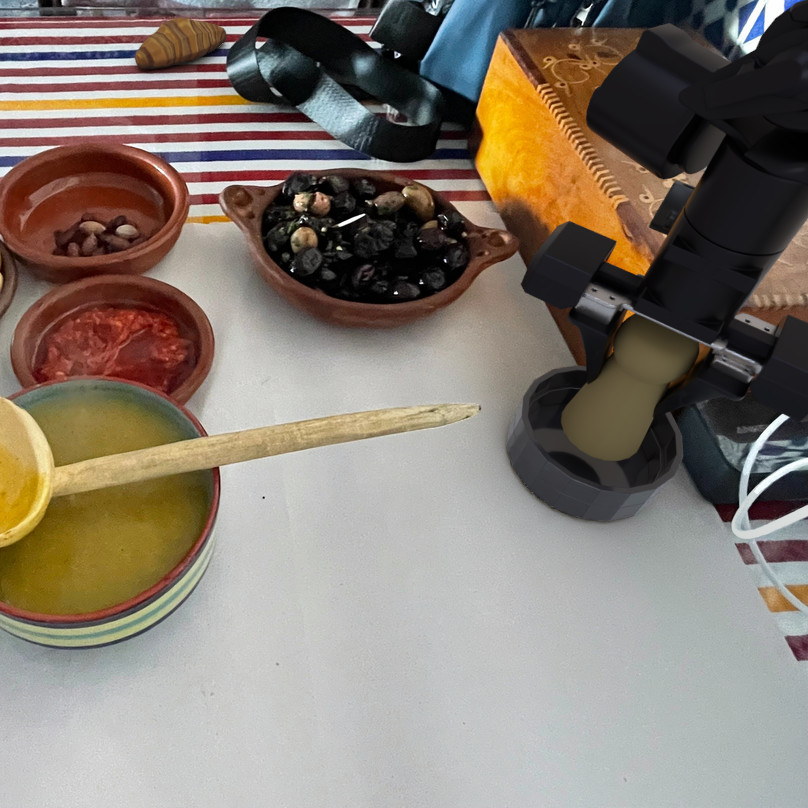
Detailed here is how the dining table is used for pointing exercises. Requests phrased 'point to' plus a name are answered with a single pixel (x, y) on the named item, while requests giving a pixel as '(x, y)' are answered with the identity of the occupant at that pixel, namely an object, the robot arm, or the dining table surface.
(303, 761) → the dining table surface
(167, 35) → the croissant
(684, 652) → the dining table surface
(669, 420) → the dark grey faceted bowl
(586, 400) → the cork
